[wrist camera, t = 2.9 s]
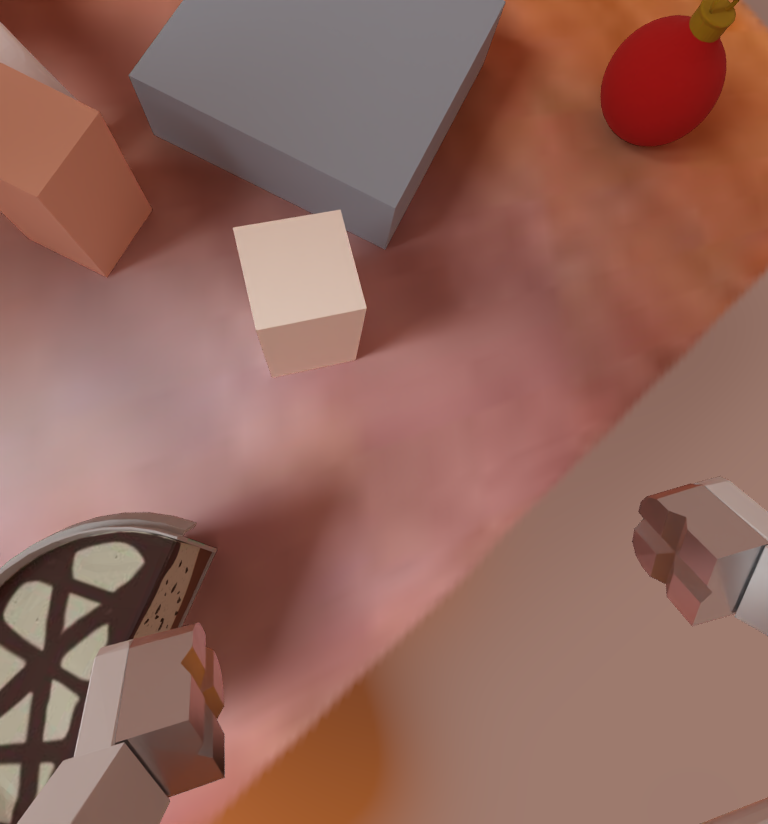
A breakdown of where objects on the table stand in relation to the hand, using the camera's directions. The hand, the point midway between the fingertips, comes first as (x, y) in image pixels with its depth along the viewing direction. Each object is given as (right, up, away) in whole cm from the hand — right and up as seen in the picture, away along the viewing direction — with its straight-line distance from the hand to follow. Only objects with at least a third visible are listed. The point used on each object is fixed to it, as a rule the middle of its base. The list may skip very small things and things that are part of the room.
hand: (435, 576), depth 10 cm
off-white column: (-6, +8, +22) cm, 24 cm away
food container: (-14, -7, +18) cm, 25 cm away
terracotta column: (-18, +14, +22) cm, 32 cm away
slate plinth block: (-5, +24, +26) cm, 36 cm away
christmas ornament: (+16, +23, +28) cm, 40 cm away
